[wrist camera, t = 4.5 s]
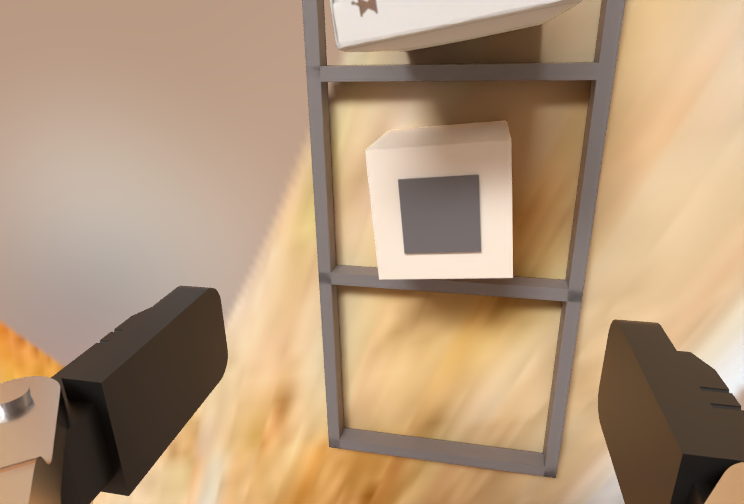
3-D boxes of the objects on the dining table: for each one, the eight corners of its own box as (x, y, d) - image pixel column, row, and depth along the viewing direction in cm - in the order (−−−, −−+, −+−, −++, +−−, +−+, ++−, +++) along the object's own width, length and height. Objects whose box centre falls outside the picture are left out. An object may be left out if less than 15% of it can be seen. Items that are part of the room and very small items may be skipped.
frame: (296, -239, 19) (286, -253, 18) (659, -288, 16) (669, -307, 15) (334, 434, 30) (329, 447, 29) (553, 463, 27) (555, 477, 27)
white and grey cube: (389, 129, 23) (364, 150, 18) (506, 119, 22) (511, 140, 17) (399, 236, 25) (378, 280, 20) (508, 232, 24) (513, 279, 19)
